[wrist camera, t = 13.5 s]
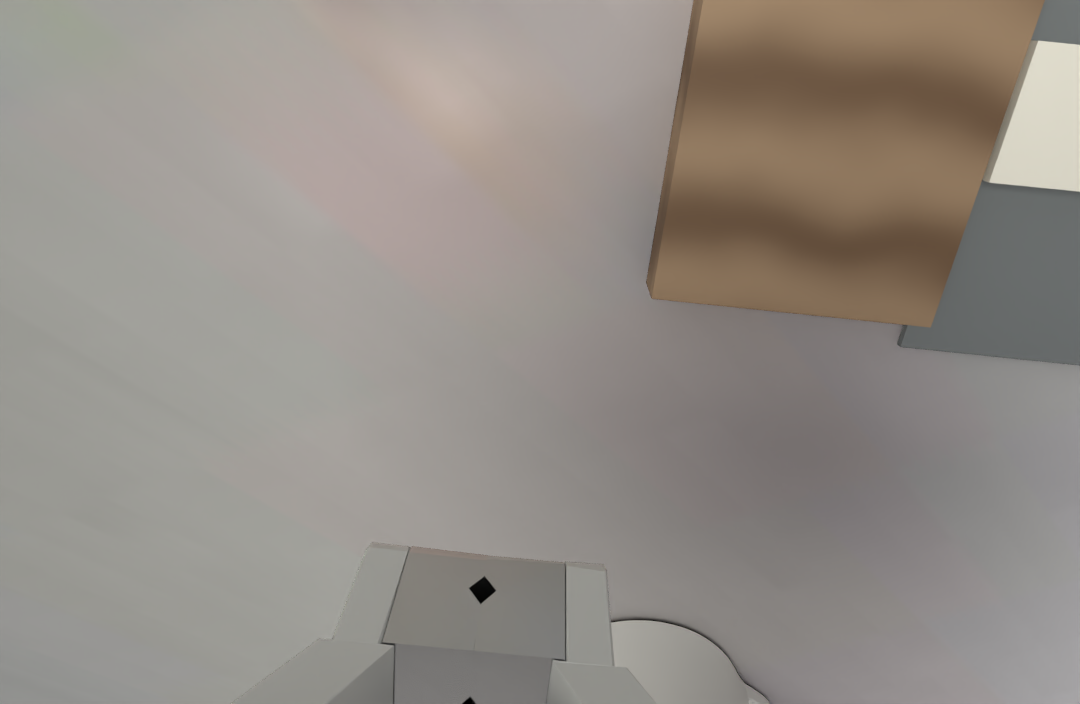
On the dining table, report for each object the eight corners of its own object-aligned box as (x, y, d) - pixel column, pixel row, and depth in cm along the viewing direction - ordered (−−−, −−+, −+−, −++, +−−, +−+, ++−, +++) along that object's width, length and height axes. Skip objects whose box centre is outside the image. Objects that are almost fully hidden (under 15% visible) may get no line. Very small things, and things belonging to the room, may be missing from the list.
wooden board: (908, 309, 38) (930, 327, 36) (646, 282, 38) (651, 298, 36) (1057, -139, 30) (1097, -152, 28) (723, -176, 30) (736, -193, 27)
